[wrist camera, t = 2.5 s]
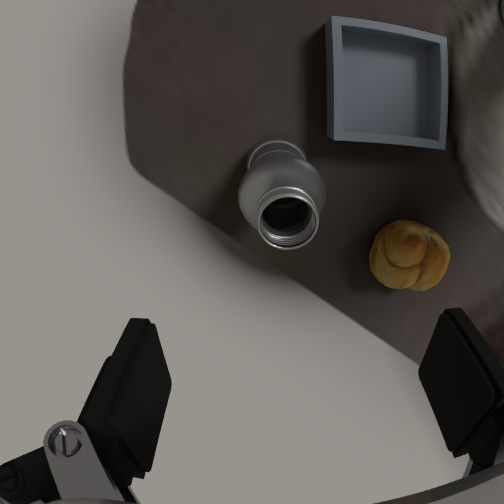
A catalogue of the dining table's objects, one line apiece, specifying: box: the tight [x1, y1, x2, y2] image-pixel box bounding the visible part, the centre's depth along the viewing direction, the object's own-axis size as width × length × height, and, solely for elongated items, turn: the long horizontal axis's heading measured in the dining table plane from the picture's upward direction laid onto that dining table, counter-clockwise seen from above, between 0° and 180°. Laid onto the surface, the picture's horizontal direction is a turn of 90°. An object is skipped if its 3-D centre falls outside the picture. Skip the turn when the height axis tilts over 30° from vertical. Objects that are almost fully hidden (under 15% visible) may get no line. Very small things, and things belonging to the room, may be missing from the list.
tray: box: [325, 16, 448, 150], centre depth 30 cm, size 14×14×4 cm
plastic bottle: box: [238, 136, 326, 250], centre depth 28 cm, size 6×7×20 cm
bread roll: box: [369, 220, 450, 291], centre depth 38 cm, size 13×10×8 cm
